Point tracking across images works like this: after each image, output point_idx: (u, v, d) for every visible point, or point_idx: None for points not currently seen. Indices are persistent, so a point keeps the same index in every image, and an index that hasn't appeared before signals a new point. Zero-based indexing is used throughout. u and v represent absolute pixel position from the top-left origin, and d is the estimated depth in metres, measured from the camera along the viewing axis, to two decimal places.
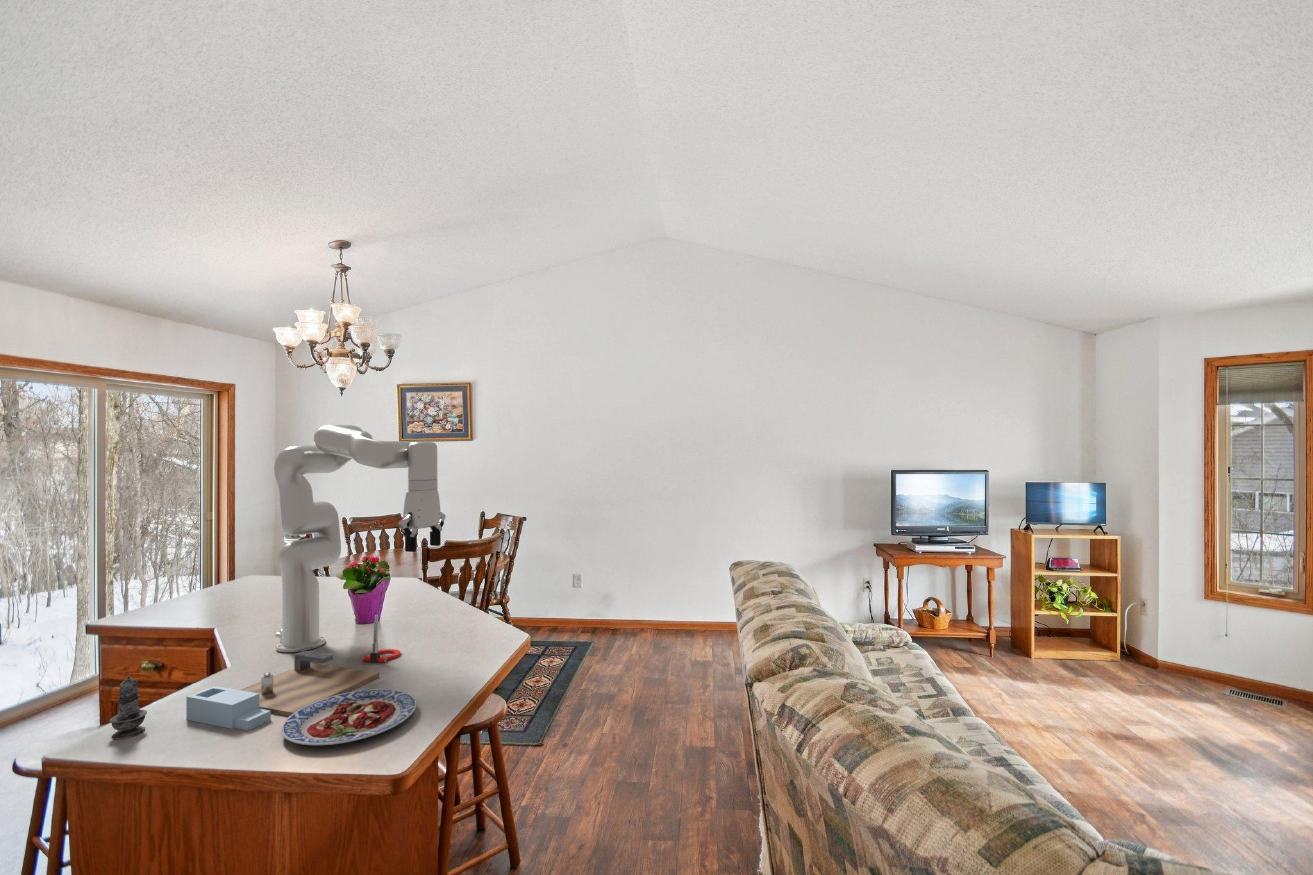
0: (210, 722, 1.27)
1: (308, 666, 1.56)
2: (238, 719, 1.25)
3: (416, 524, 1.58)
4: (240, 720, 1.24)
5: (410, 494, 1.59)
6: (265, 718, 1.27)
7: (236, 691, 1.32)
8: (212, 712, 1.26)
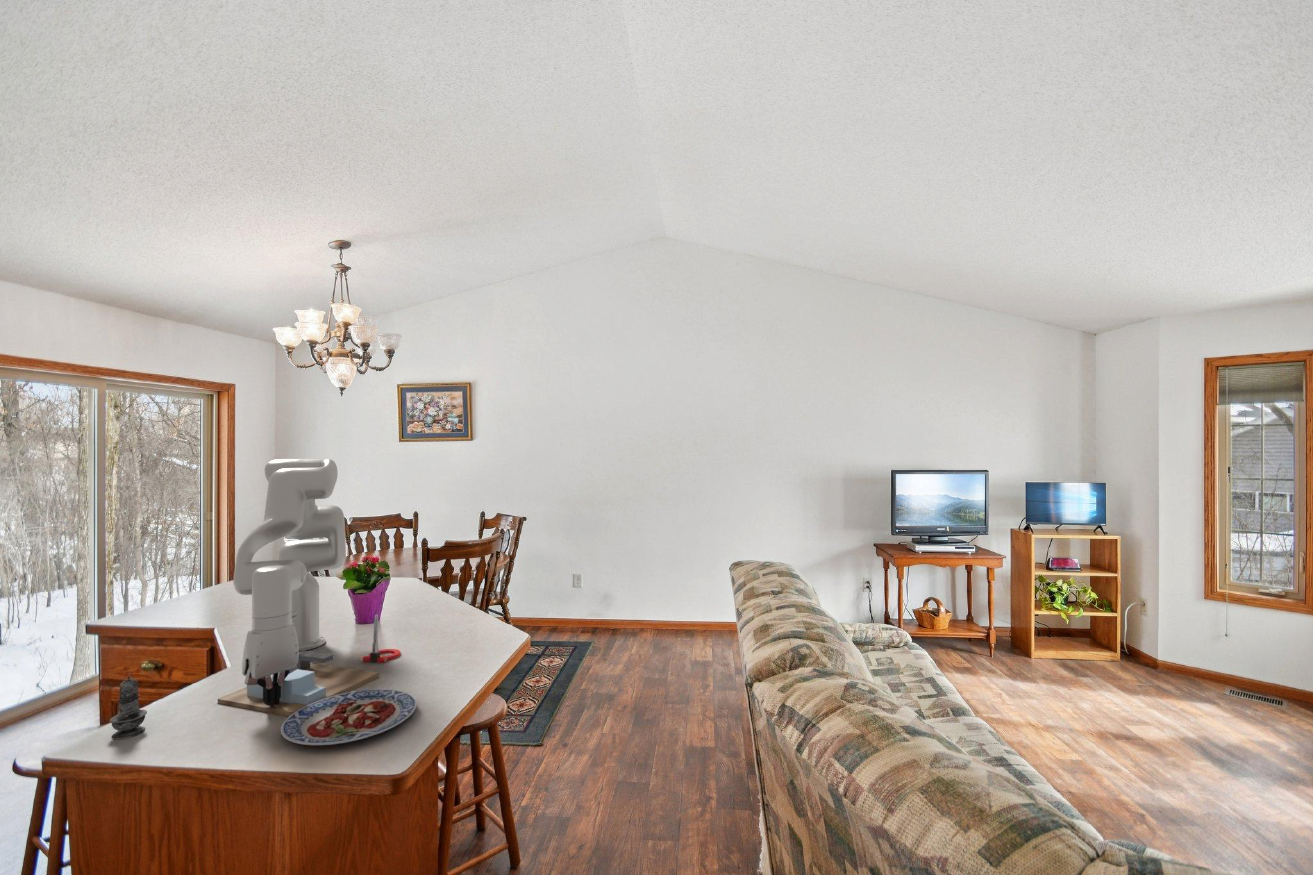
0: None
1: (308, 666, 1.56)
2: (297, 694, 1.35)
3: (253, 674, 1.28)
4: (299, 695, 1.34)
5: (249, 636, 1.29)
6: (321, 694, 1.37)
7: None
8: None
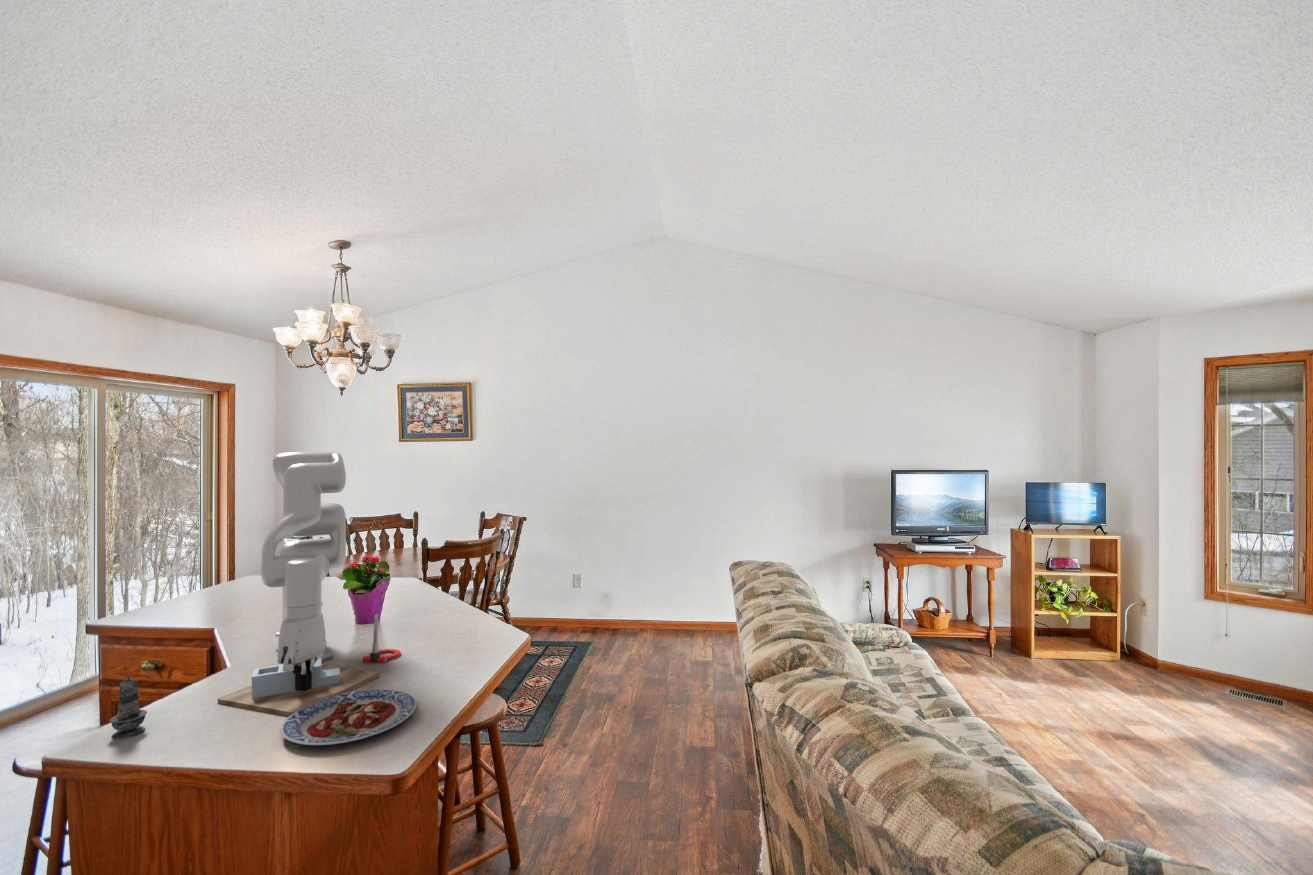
0: (289, 690, 1.41)
1: None
2: (326, 677, 1.45)
3: (293, 660, 1.35)
4: (329, 676, 1.45)
5: (286, 624, 1.36)
6: None
7: None
8: (292, 680, 1.41)
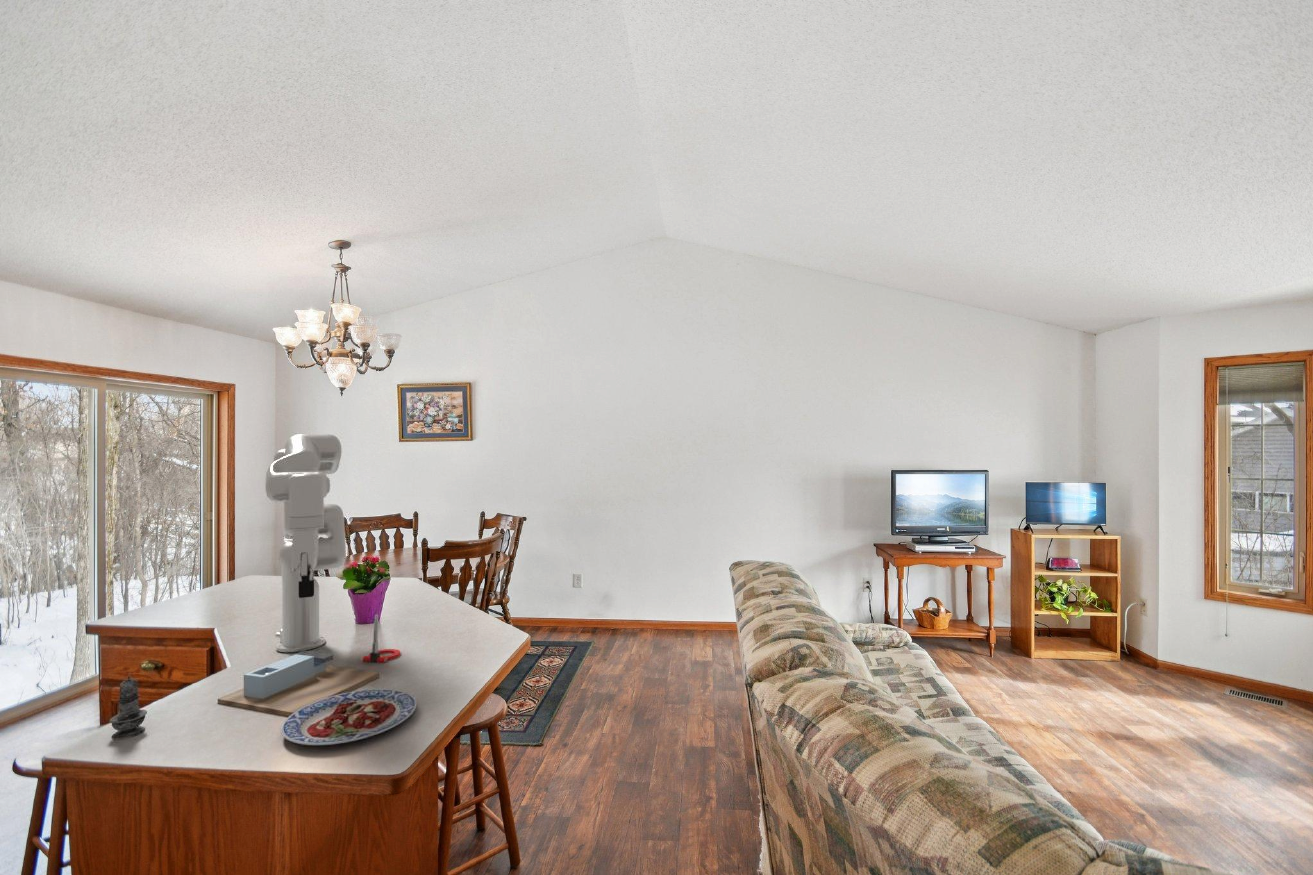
0: (291, 684, 1.44)
1: None
2: (315, 667, 1.52)
3: (312, 565, 1.44)
4: (318, 666, 1.52)
5: (302, 533, 1.43)
6: None
7: (276, 662, 1.46)
8: (293, 674, 1.45)
